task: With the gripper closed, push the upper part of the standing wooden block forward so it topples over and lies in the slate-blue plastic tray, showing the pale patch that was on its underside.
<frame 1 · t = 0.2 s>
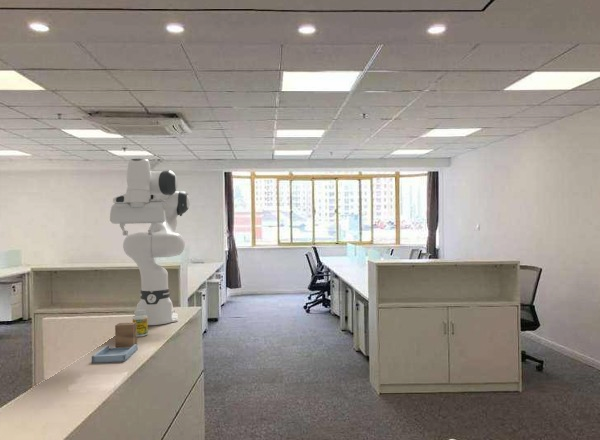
hand: (137, 235, 173), 38 cm above the table, tool pointing down, fingers open, 8 cm apart
tray: (115, 356, 146), on the table
wooden block: (126, 347, 157), on the table
supplement bottle: (140, 335, 174), on the table
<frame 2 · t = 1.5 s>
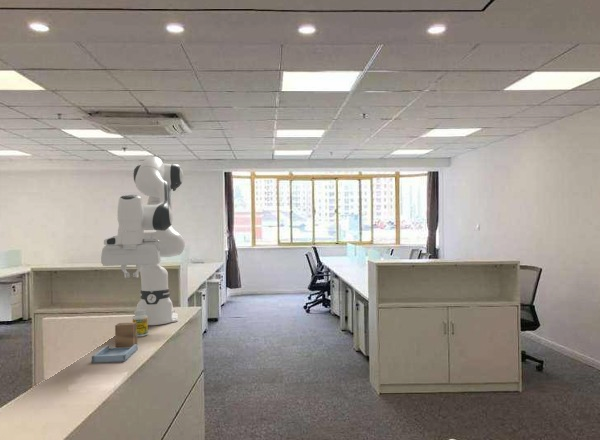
hand: (131, 277, 164), 23 cm above the table, tool pointing down, fingers closed
nothing on the table moved.
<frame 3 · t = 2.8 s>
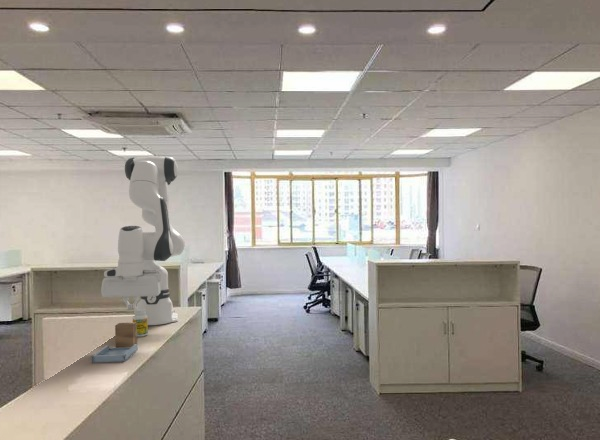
hand: (131, 309, 163), 12 cm above the table, tool pointing down, fingers closed
nothing on the table moved.
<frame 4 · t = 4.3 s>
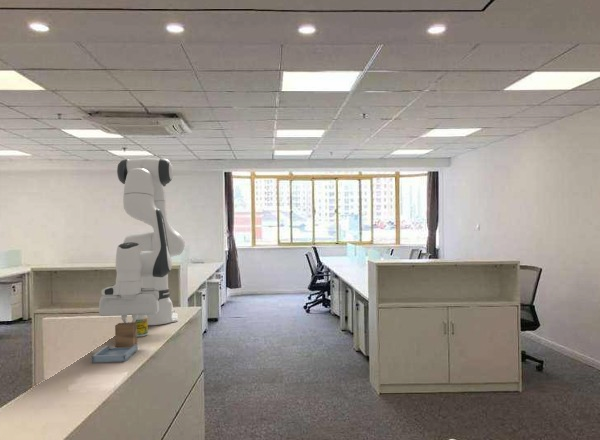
hand: (129, 327, 161), 6 cm above the table, tool pointing down, fingers closed
nothing on the table moved.
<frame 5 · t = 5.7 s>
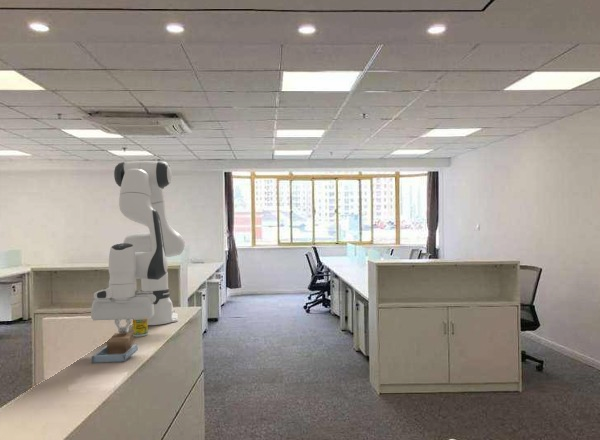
hand: (123, 332, 154), 6 cm above the table, tool pointing down, fingers closed
wooden block: (124, 338, 155), point 3 cm above the table, tilted 97°, touching tray
everything else where it was.
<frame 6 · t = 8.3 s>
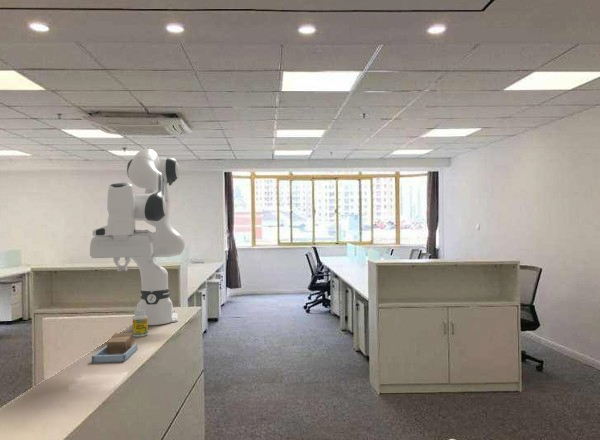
hand: (122, 270, 154), 27 cm above the table, tool pointing down, fingers closed
nothing on the table moved.
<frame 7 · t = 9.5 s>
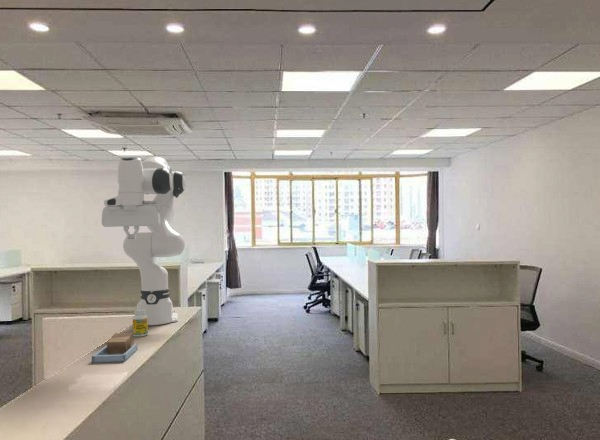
hand: (131, 239, 165), 37 cm above the table, tool pointing down, fingers closed
nothing on the table moved.
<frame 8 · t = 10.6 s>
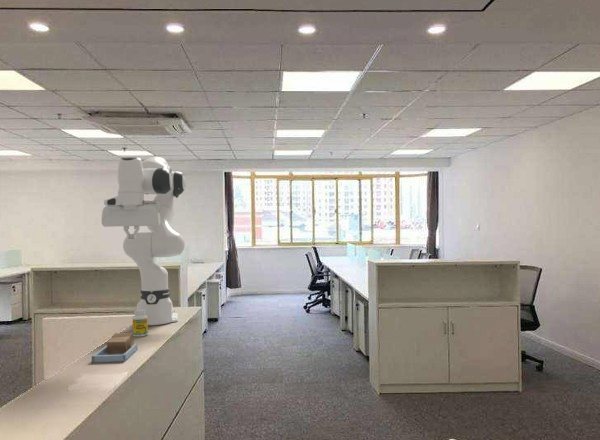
hand: (131, 238, 165), 37 cm above the table, tool pointing down, fingers closed
nothing on the table moved.
at the end: wooden block tilted 97°; wooden block inside the target area (7.0 cm from its centre), point 3.4 cm above the table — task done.
